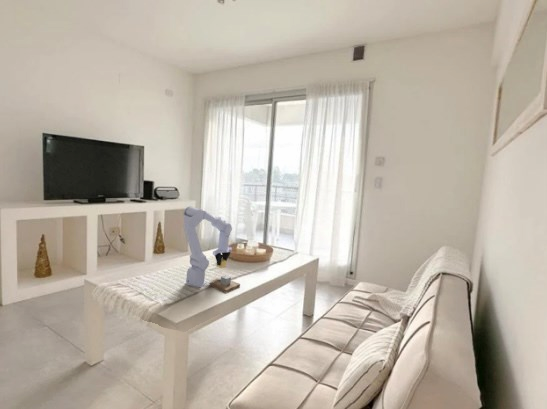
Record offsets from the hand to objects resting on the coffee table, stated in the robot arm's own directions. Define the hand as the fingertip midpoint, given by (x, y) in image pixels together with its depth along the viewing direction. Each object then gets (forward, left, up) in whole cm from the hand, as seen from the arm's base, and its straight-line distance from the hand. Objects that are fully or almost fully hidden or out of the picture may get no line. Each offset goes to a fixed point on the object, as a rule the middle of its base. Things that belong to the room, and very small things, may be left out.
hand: (221, 264), depth 182 cm
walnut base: (+7, -12, -8) cm, 16 cm away
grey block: (+7, -12, -6) cm, 15 cm away
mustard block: (0, 0, -2) cm, 2 cm away
